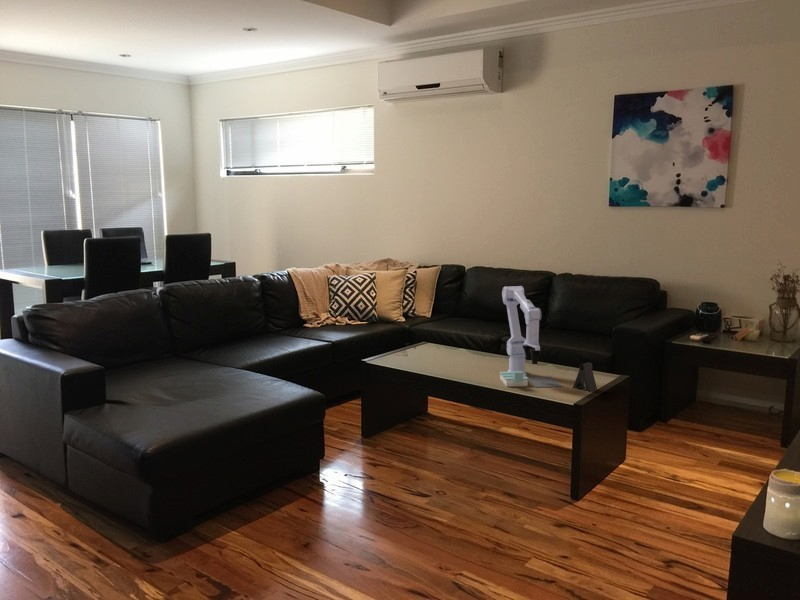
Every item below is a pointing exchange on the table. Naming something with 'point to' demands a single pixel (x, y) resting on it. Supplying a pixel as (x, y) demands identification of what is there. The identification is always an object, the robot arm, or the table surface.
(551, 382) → the mat
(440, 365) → the table surface
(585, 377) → the phone stand
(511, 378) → the lid
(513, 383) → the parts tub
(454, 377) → the table surface
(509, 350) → the robot arm
